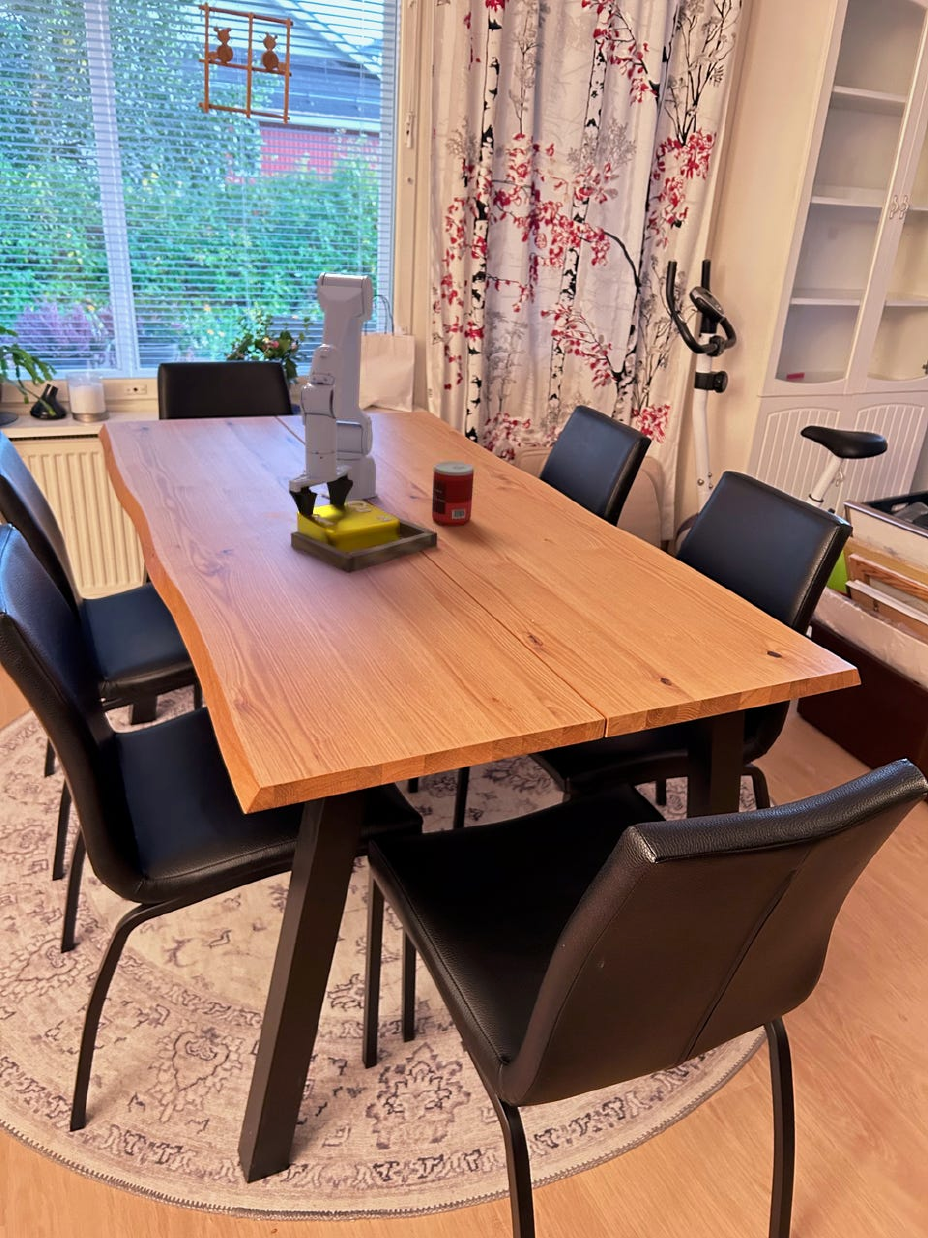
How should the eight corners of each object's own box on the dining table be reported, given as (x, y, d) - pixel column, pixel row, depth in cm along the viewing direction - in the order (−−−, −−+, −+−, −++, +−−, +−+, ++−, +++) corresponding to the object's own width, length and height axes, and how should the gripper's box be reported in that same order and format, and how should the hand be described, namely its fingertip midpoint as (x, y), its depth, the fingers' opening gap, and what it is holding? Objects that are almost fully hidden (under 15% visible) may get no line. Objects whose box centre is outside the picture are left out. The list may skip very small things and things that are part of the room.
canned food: (476, 518, 181) (480, 465, 176) (460, 529, 174) (463, 474, 169) (442, 511, 183) (445, 458, 179) (425, 522, 177) (427, 467, 172)
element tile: (293, 531, 169) (292, 507, 167) (361, 519, 177) (361, 496, 175) (333, 557, 158) (333, 531, 156) (403, 542, 167) (404, 518, 165)
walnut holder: (379, 522, 175) (379, 510, 174) (436, 545, 165) (437, 532, 164) (291, 546, 161) (290, 532, 160) (348, 572, 151) (348, 558, 150)
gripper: (333, 439, 172) (333, 507, 177) (276, 452, 161) (278, 524, 167) (360, 446, 168) (359, 515, 174) (303, 460, 157) (305, 533, 163)
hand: (321, 520), depth 170 cm, fingers open, 7 cm apart
